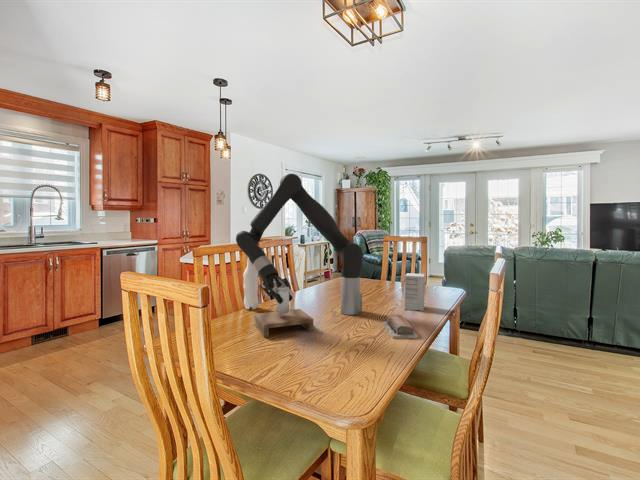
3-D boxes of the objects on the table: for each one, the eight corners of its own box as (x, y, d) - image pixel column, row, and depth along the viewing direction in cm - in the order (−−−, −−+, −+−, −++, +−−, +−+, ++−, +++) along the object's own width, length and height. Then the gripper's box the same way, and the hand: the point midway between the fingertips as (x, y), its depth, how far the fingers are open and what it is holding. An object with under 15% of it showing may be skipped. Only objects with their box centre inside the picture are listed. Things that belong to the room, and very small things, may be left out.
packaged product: (382, 313, 150) (405, 313, 150) (382, 324, 150) (405, 324, 150) (392, 327, 132) (418, 326, 132) (392, 339, 132) (418, 339, 132)
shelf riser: (300, 320, 156) (300, 308, 155) (313, 331, 141) (313, 318, 141) (255, 325, 148) (254, 313, 148) (264, 337, 133) (263, 324, 133)
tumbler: (287, 309, 147) (287, 285, 147) (290, 312, 143) (290, 288, 142) (275, 310, 145) (275, 286, 145) (278, 314, 141) (278, 289, 140)
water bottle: (255, 310, 171) (254, 259, 169) (241, 309, 173) (240, 259, 171) (260, 306, 178) (259, 257, 176) (247, 306, 180) (246, 257, 178)
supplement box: (423, 311, 169) (424, 276, 168) (404, 309, 172) (404, 275, 171) (424, 306, 178) (425, 273, 177) (405, 305, 181) (406, 272, 180)
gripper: (256, 265, 141) (278, 299, 135) (281, 261, 153) (302, 292, 146) (248, 276, 145) (269, 310, 139) (273, 272, 156) (293, 303, 150)
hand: (286, 301), depth 143 cm, fingers closed on tumbler, 5 cm apart
